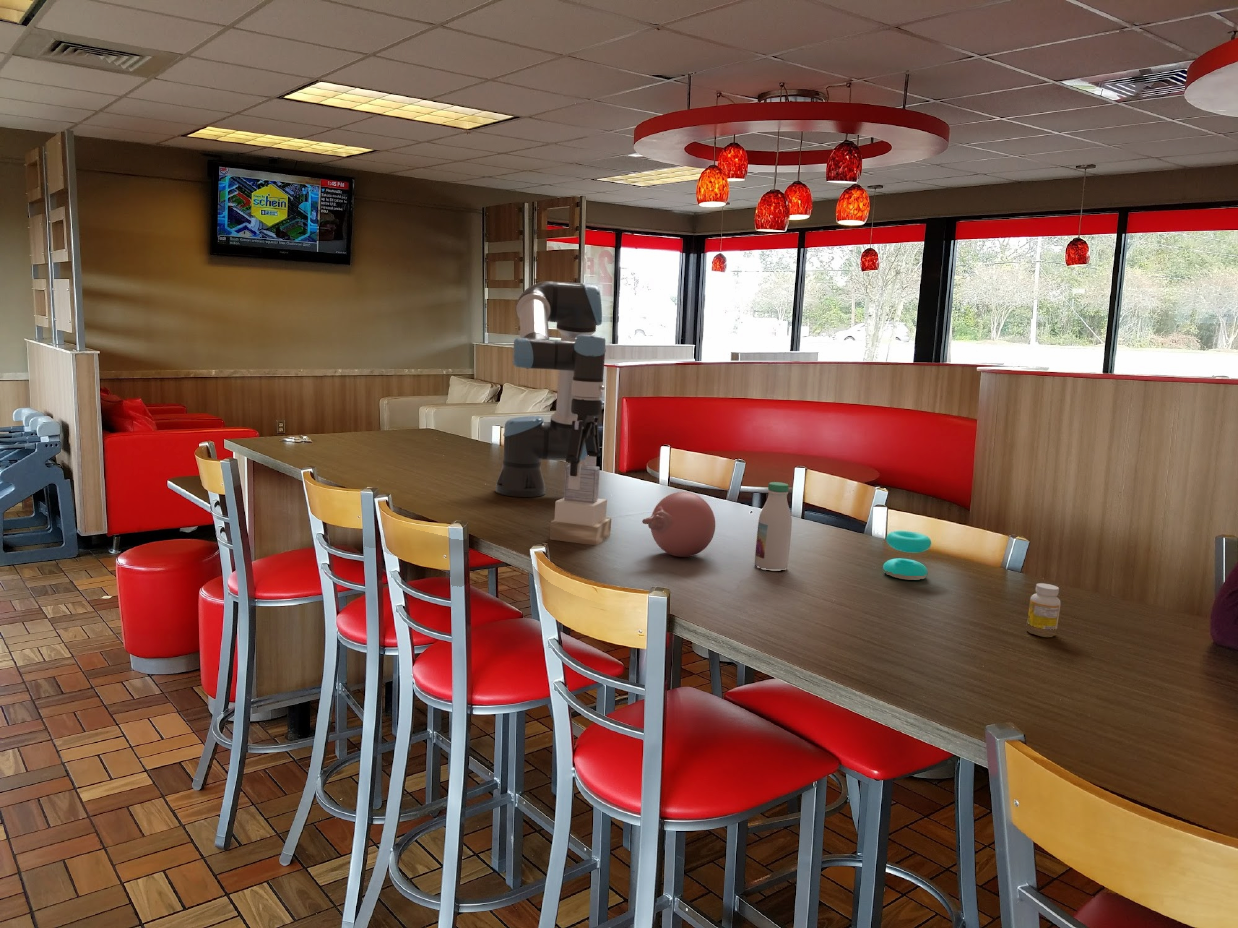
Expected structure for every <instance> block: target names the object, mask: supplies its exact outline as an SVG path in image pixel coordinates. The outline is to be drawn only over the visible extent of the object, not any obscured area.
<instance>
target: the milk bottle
mask: <svg viewBox="0 0 1238 928" xmlns="http://www.w3.org/2000/svg"><path fill="white" fill-rule="evenodd" d="M767 488H768V490H767V492H768V496H767V499H766V501H765V503H764V505H763V507H762V509H761V511H760V512H759V517H758V523H757V531H756V533H757V534H756V543H755V555H754V566H755V565H756V566H759V567H760V568H766V569H785V568H787V567H789V560H790V550H791V548H790V547H791V541H792V540H791V538H792V528H793V527H792V523H793V518H792V517H793V516H792V512H791V510H790V507H789V503H788V499H787V498H788V494H789V488H790V487H789V484H788V483H785V482H778V481H776V482H775V481H772V482H769V483H768V486H767ZM756 566H755V567H756ZM787 569H788V568H787Z"/></svg>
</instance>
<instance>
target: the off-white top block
mask: <svg viewBox="0 0 1238 928" xmlns="http://www.w3.org/2000/svg"><path fill="white" fill-rule="evenodd" d="M554 504H555V505H554V507H555V508H554V519H555V520H554V519H553V520H554V521H558V522H565V523H572V524H579V525H586V526H594V525H596V524H598V523H599V522H601V521H603V520H605V519H606V518H607V508H608V507H607V505H608V499H605V498H598V500H597V501H596V502H595V503H591V502H580V501H570V500H564V497H563V498H560V499H558V500H556V501H555V503H554Z"/></svg>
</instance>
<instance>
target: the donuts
mask: <svg viewBox="0 0 1238 928" xmlns="http://www.w3.org/2000/svg"><path fill="white" fill-rule="evenodd" d="M885 541H886V543H887V544H888V546H889V547H891V548H892V549H894V550H897V551H899V552H900V551H901V552H905V553H910V554H911V553H912V554H913V553H914V554H915V553H917V554H918V553H924V552H926V551H928V550H929V549H930V548H931V546H932V540H931V538H930V537H929V536H927V535H926V534H923V533H919V532H915V531H909V530H895V531H894V530H893V531H891V532H889V533H888V534H887V535H886V539H885ZM882 566H883V567H882V570H883V569H884V570H885V571H888V572H892V573H893V574H900V575H905V576H924V575H926V574H927V573H929V572H928V568H927V567H926V566H925V565H924V564H923V563H921V562H919V561H917V560H914V559H909V558H899V557H898V558H891V559H887V561H885V562H884V563H883V565H882ZM927 575H928V574H927Z"/></svg>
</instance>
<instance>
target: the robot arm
mask: <svg viewBox="0 0 1238 928" xmlns="http://www.w3.org/2000/svg"><path fill="white" fill-rule="evenodd" d="M515 309H516V314H517V317H518V319H519V321H520V327H519V329H520V330H519V331H520V337H516V338H515V339H514V340H513V352H512V358H513V359H512V364H513V365H514V366H515V367H516V368H521V369H522V368H523V369H527V370H528V369H533V370H534V369H535V370H536V369H537V370H553V371H555V370H556V371H558V377H557V380H558V381H557V382H558V383H557V391H556V392H557V394H556V408H555V409H556V410H555V412H554V413H552V414H551V416H550V420H549V421H544V418H543V416H538V415H537V416H535V415H534V416H533V415H532V416H531V415H530V416H520V417H514V418H510V419H508V420H507V421H505V423H504V432H503V434H502V435H503V448H502V449H503V450H502V451H503V452H502V454H503V455H502V466H501V470H500V473H499V475H498V477H497V478H498V479H497V481H496V483H495V492H496V493H497V494H499V495H504V496H507V497H508V496H509V497H516V498H536V497H540V496H544V495H545V494H546V484H545V481H544V476H543V472H542V468H541V466H542V461H561V462H562V461H563V462H566V463H569V464H568V465H569V481H568V489H576V490H579V489H580V473H581V465H582V463H581V462H583V461H584V465H588V466H597V457H600V456H601V452H600V449H601V448H600V435H599V431H600V430H599V417H598V416H601V414H602V406H603V400H602V399H601V398H603V390H605V388H606V387H605V386H604V371H605V361H606V360H605V359H606V352H607V349H606V338H605V337H604V336H602V335H593V334H595V333H596V330H597V326H601V325H602V323H603V309H602V297H601V291H600V288H599V287H598V286H597V285H595V284H591V283H584V282H566V281H552V280H546V281H540V282H537V283H534V284H532V285H531V286H528V288H526V289H525V290H523V291H522V293H521V294H520V295H519V297H518V299H517V302H516V308H515ZM549 322H550V323H556V330H557V331H558V332H559V333H560V335H561V336H560V340H558V339H550V331H549V330H550V329H549Z"/></svg>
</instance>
